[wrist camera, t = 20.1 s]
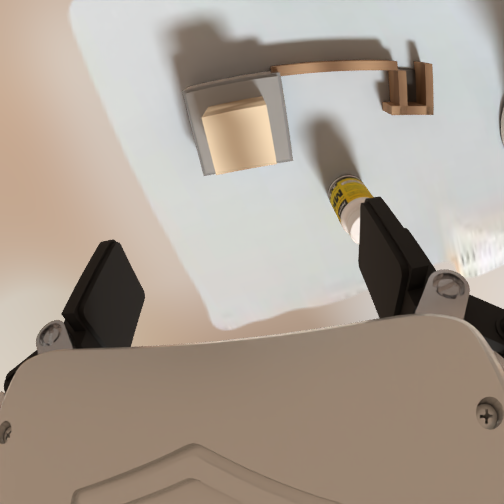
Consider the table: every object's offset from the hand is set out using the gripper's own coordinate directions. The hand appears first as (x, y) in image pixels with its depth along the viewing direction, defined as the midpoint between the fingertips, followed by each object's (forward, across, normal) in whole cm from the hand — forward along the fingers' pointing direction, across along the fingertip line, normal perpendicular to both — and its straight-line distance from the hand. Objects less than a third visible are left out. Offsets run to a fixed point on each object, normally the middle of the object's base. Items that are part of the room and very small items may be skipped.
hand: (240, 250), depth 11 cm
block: (+19, 0, 0) cm, 19 cm away
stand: (+24, 0, 0) cm, 24 cm away
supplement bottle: (+24, -11, +11) cm, 29 cm away
